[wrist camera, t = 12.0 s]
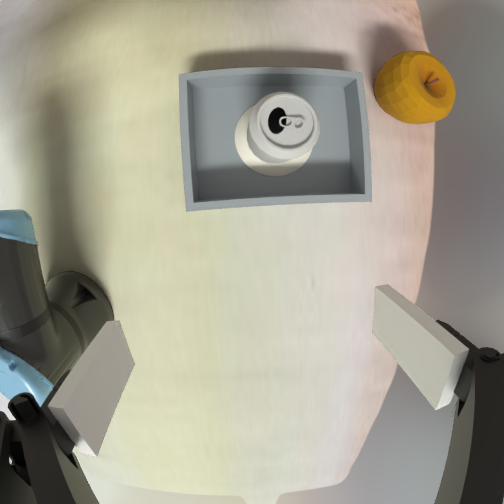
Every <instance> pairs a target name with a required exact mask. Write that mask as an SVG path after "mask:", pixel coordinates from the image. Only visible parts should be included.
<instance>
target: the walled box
mask: <svg viewBox="0 0 504 504" xmlns="http://www.w3.org/2000/svg"><path fill="white" fill-rule="evenodd" d="M276 92H291V93H294V94H297V95H299V96H302V97H303V98H304V99H306V100H307V101H308V102H309V103H311V105H312V106H313V108H314V109H315V110H316V112H317V114H318V117H319V121H320V134H319V137H318V140H317V143H316V144H315V145H314V146H313V148H312V149H311V150H310V151H309V152H307V153H306V154H304V155H303V156H301V157H298V158H295V159H292V160H289V161H286V162H282V163H278V164H276V163H267V162H265V161H262V160H260V159H259V158H258V157H256V156H255V155H254V154H253V153H252V151H251V150H250V148H249V146H248V142H247V129H248V123H249V118H250V115H251V112H252V110H253V107H254V106H255V105H256V104H257V103H258V102H259V100H260V99H262V98H264V97H265V96H267V95H269V94H272V93H276ZM179 105H180V130H181V148H182V164H183V178H184V190H185V202H186V212H187V211H198V210H210V209H223V208H236V207H251V206H267V205H285V204H306V203H332V202H372V181H371V156H370V140H369V127H368V117H367V107H366V98H365V90H364V83H363V76H362V73H360V72H352V71H343V70H333V69H321V68H303V67H249V68H231V69H218V70H208V71H199V72H191V73H184V74H179Z"/></svg>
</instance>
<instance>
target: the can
mask: <svg viewBox="0 0 504 504" xmlns="http://www.w3.org/2000/svg"><path fill="white" fill-rule="evenodd" d="M319 134H320V121H319V117H318V114H317V112H316V110H315V109H314V108H313V106H312V105H311V103H309V102H308V101H307V100H306V99H304V98H303V97H302V96H299V95H297V94H294V93H291V92H276V93H272V94H269V95H267V96H265V97H264V98H262V99H260V100H259V102H258V103H257V104H256V105H255V106H254V107H253V110H252V112H251V115H250V118H249V123H248V129H247V142H248V146H249V148H250V150H251V151H252V153H253V154H254V155H255V156H256V157H258V158H259V159H260V160H262V161H265V162H267V163H276V164H278V163H282V162H286V161H289V160H292V159H295V158H298V157H301V156H303V155H304V154H306V153H307V152H309V151H310V150H311V149H312V148H313V146H314V145H315V144H316V143H317V140H318V137H319Z"/></svg>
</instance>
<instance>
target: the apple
mask: <svg viewBox="0 0 504 504" xmlns="http://www.w3.org/2000/svg"><path fill="white" fill-rule="evenodd" d="M374 89H375V98H376V100H377V102H378V104H379V106H380V107H381V108H382V109H383V110H384V111H385V112H386V113H388V114H389V115H391V116H393V117H394V118H396V119H398V120H400V121H402V122H405V123H410V124H423V123H430V122H435V121H438V120H440V119H443V118H445V117H446V116H447V115H448V113H449V112H450V111H451V109H452V107H453V104H454V101H455V85H454V82H453V80H452V77H451V76H450V74H449V73H448V71H447V70H446V68H445V67H444V66H443V64H442V63H441V62H440V61H439V60H438V59H437V58H436V57H434V56H433V55H432V54H429V53H427V52H425V51H404V52H402V53H399V54H397V55H395V56H394V57H392V58H390V59H389V60H388V61H387V62H386V63H385V64H384V65H383V67H382V68H381V69H380V71H379V73H378V75H377V78H376V81H375V85H374Z"/></svg>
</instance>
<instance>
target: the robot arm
mask: <svg viewBox="0 0 504 504" xmlns="http://www.w3.org/2000/svg"><path fill="white" fill-rule="evenodd" d="M37 246H38V242H37V241H36V239H35V234H34V228H33V223H32V219H31V217H30V215H29V214H28V213H27V212H26V211H24V210H0V392H1V393H2V394H3V395H4V396H6V397H7V398H8V399H9V400H10V402H9V403H8V409H9V410H10V412H11V413H12V415H13V416H14V417H15V419H16V420H9V419H8V417H7V416H6V414H5V413H4V412H2V411H0V504H99V502H98V500H97V498H96V497H95V495H94V493H93V491H92V489H91V487H90V485H89V484H88V481H87V479H86V477H85V475H84V473H83V471H82V469H81V467H80V464H79V462H78V460H77V457H76V456H75V454H74V453H73V452H72V450H73V448H74V446H76V447H77V448H78V450H79V451H80V452H81V453H82V454H85V455H91V456H96V457H97V455H98V453H99V450H100V447H101V445H102V442H103V439H104V437H105V434H106V432H107V429H108V427H109V424H110V422H111V419H112V417H113V414H114V412H115V409H116V407H117V404H118V402H119V399H120V397H121V395H122V392H123V390H124V388H125V385H126V383H127V381H128V378H129V376H130V374H131V372H132V369H133V367H134V365H135V363H134V360H133V358H132V355H131V352H130V350H129V347H128V344H127V341H126V338H125V335H124V333H123V330H122V327H121V324H120V320H119V321H114V317H113V312H112V308H111V305H110V303H109V301H108V299H107V297H106V296H105V294H104V293H103V291H102V290H101V289H100V287H99V286H98V285H97V284H96V283H95V282H93V281H92V280H91V279H89V278H88V277H86V276H84V275H82V274H80V273H77V272H71V271H67V272H62V273H60V274H58V275H56V276H55V277H53V278H52V279H50V280H49V281H48V282H47V284H46V285H45V284H44V279H43V275H42V270H41V265H40V259H39V254H38V248H37ZM372 333H373V334H374V335H375V336H376V337H377V338H378V340H379V341H380V342H381V343H382V344H383V346H384V347H385V348H386V349H387V350H388V352H389V353H390V354H391V355H392V356H393V358H394V359H395V360H396V361H397V363H398V364H399V365H400V366H401V367H402V369H403V370H404V371H405V372H406V373H407V375H408V376H409V377H410V378H411V380H412V381H413V382H414V383H415V385H416V386H417V387H418V388H419V390H420V391H421V392H422V394H423V395H424V396H425V397H426V399H427V400H428V401H429V402H430V404H431V405H432V406H433V408H434V409H435V410H437V409H439V408H441V407H443V406H445V405H447V404H449V403H450V401H451V399H452V396H453V394H454V393H455V394H456V395H457V396H458V397H459V398H458V400H457V402H456V405H455V407H454V409H453V412H452V414H451V416H453V415H454V413H455V417H454V424H453V430H452V437H451V441H450V447H449V452H448V456H447V461H446V465H445V469H444V473H443V477H442V480H441V484H440V488H439V491H438V494H437V497H436V500H435V503H434V504H502V503H503V497H504V353H503V354H500V353H499V352H498V351H497V350H495V349H493V348H488V347H484V348H480V349H478V348H477V347H476V346H475V345H473V344H472V343H471V342H470V341H468V340H467V339H466V338H465V337H464V336H462V335H460V333H459V332H457V331H456V330H454V329H453V328H452V327H451V326H450V325H448V324H447V323H444V322H442V321H440V320H437V321H434V320H433V319H432V318H431V317H429V316H428V315H427V314H426V313H424V312H423V311H422V310H421V309H419V308H418V307H417V306H416V305H414V304H413V303H412V302H410V301H409V300H408V299H407V298H405V297H404V296H403V295H401V294H400V293H399V292H397V291H396V290H395V289H394V288H392V287H391V286H390V285H388V284H386V285H382V286H377V287H375V304H374V318H373V330H372ZM9 457H10V458H11V460H12V464H10V463H9Z"/></svg>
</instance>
